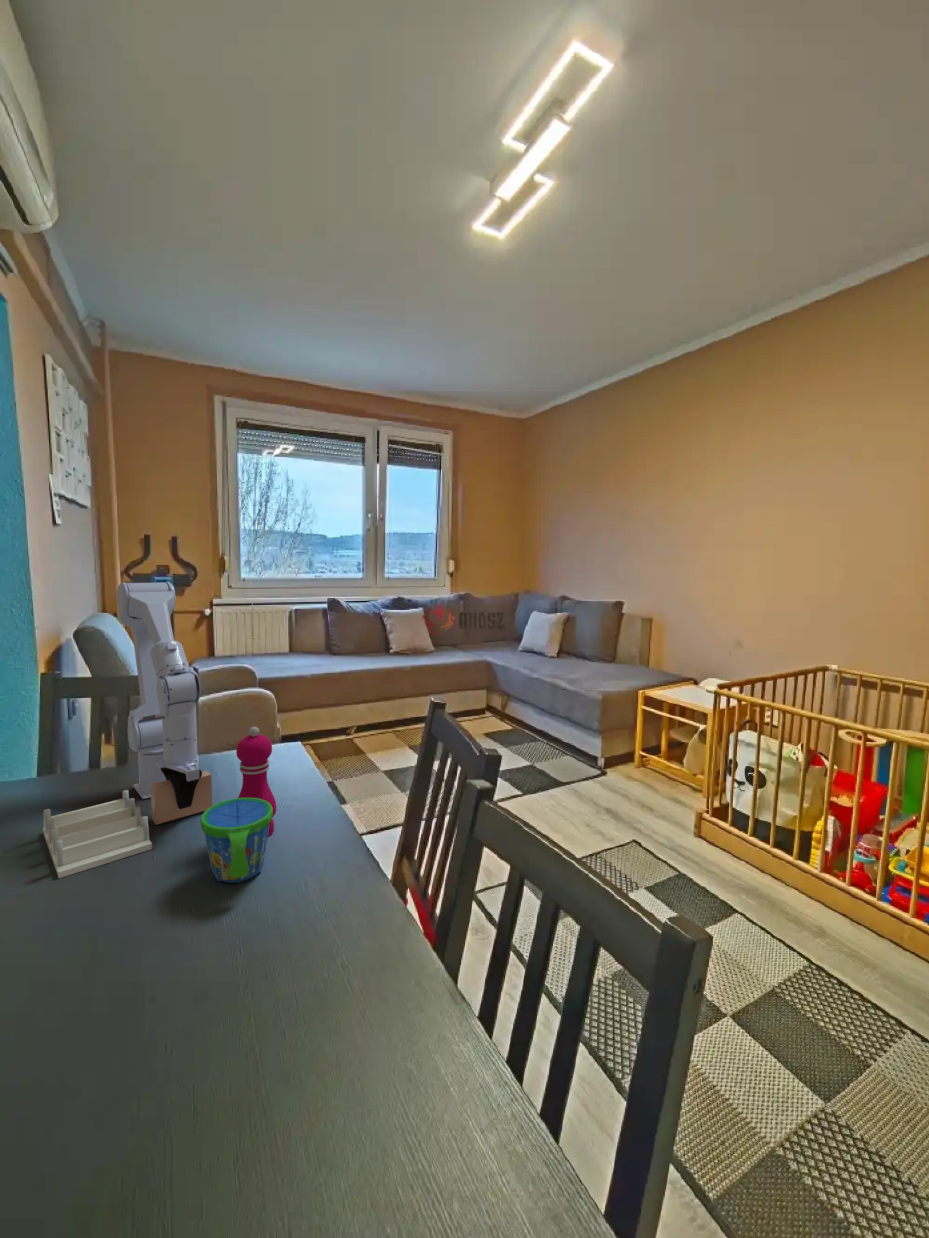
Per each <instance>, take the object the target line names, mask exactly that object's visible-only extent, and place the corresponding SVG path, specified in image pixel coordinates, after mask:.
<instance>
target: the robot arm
mask: <svg viewBox="0 0 929 1238" xmlns="http://www.w3.org/2000/svg"><path fill="white" fill-rule="evenodd" d="M176 600H177V598H176V590H175V587H174V585H173V584H172V583H171V582H170V581H164V582H124V581H123V582H121V583H119V584H118V586H117V589H116V602H117V611H118V618H119V620H120V623H121V624H122V625H124V626H127V627H129V628H130V632H131V634H132V639H133V647H134V654H135V663H136V664H135V665H136V672H137V680H138V686H139V696H140V704H139V705H138V706H137V707H136V708H135V709H134V710H132V711H131V712H130V713H129V714H128V717H127V742H128V745H129V748H130V749H131V750H133V752H137V759H138V760H137V764H138V765H137V766H138V783H136V784H133V788H134V790H135V791H136V792H137V794H138V795H139V796H140V797H141V799H142V800H145V799H151V784H154V783H158V782H162V781H166V780H170V782H171V784H172V786H173V788H174V791H175V796H176V801H177V805H178V807H179V809H183V808H187V807H190V806H191V805H192V801H193V796H194V792H195V788H196V785H197V783H198V781H199V779H200V778H201V776H202V772H203V771H202V770H201V769H200V768H199V759H200V758H199V754H198V735H197V734H198V733H197V727H198V726H197V702H198V701H199V700H200V699H201V689H202V688H201V682H200V678H199V675H198V673H197V672H196V671H195V670H194V668H193V667H192V666H189V665H190V664H189V663H188V659H187V656H186V653H185V649H184V647H183V645H182V643H181V642H179V641H177V640H175V637H174V633H173V629H172V624H171V623H172V622H171V615H172V614H173V611H174V608H175V606H176ZM160 715H161V716H160ZM155 716H156V717H155ZM149 717H152V718H149ZM143 718H144V719H143ZM145 718H147V719H145Z"/></svg>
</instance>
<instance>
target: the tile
mask: <svg viewBox="0 0 929 1238" xmlns="http://www.w3.org/2000/svg"><path fill="white" fill-rule="evenodd" d="M212 791H213V787H212V774H211V773H210V771H207V770H204V771H202V776H201V778H200V779H199V781H198V783H197V785H196V788H195V792H194V796H193V801H192V805H191V806H190V807H187V808H183V809H179V807H178V805H177V801H176V796H175V791H174V788H173V786H172V784H171V782H170V780H166V781H162V782H158V783H154V784H151V797H150V801H151V805H150V806H151V821H152V822H153V823H154V825H160V824H163V823H166V822H170V821H174V820H178V819H181V818H185V817H188V816H191V815H195V814H199V813H202V812H205V811H206V810H207V809H208V808H210V807H211V806H213V792H212Z"/></svg>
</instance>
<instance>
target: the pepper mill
mask: <svg viewBox="0 0 929 1238" xmlns="http://www.w3.org/2000/svg"><path fill="white" fill-rule="evenodd" d="M248 734H249V735H246V736H244V737H243V738H241V739H240V741H239V742H238V743H237V745H236V750H235V751H236V753H235V754H236V757H237V759H238V760H239V761H240V763H239V767H240V768H239V771H240V773H241V775H242V785H241V790H240V792H239V795H238V796H237V798H258V799H262V800H265V801H267V802H269V803H270V804H271V806H272V809H273V816H272V820H271V822H270V824H269V832H268V838H269V837H270V836H271V835H272V834H273V833H274V831H275V821H274V819H273V817H274V816H275V815H276V812H277V802H276V799H275V796H274V794H273V791H272V790H271V788H270V786H269V782H268V776H267V775H268V770H269V769H270V760H269V758H270V756H271V755H272V753H273V744H272V742H271V740H270V739H269V737H267V736H266V735H263V734H260V728H258V727H257V726H252V727H250V728H249V730H248Z"/></svg>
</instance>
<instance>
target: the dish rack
mask: <svg viewBox="0 0 929 1238" xmlns="http://www.w3.org/2000/svg"><path fill="white" fill-rule="evenodd" d="M121 794H122V798H119V799H115V800H112V801H107V802H104V803H100V804H96V805H92V806H88V807H83V808H79V809H76V810H72V811H67V812H65V813H64V812H63V813H59V814H56V815H52V814H51V809H50V808H47V809H44V810H43V811H42V816H43V818H42V819H43V821H42V822H43V827H42V834H43V836H44V837H43V838H44V839H45V842H46V844H47V848H48V850H49V854H50V857H51V861H52V862H53V866H54V869H55V872H56V875H57V879H61V878H62V879H63V878H64V877H68V876H72V875H73V874H74V875H75V874H77V873H80V872H83V871H87V870H89V869H93V868H96V867H99V866H102V865H105V864H109V863H112V862H116V861H118V860H122V859H124V858H128V857H132V856H134V855H137V854H141V853H144V852H147V851H150V850H153V843H152V841H151V840H150V830H149V828H150V825H149V818H148V817H149V816H147V815H144V816H142V807H141V806H136V805H135V804H136V802H135V798H134V797H132V798H131V797H130V795H129V789H124V790H122V793H121Z"/></svg>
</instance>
